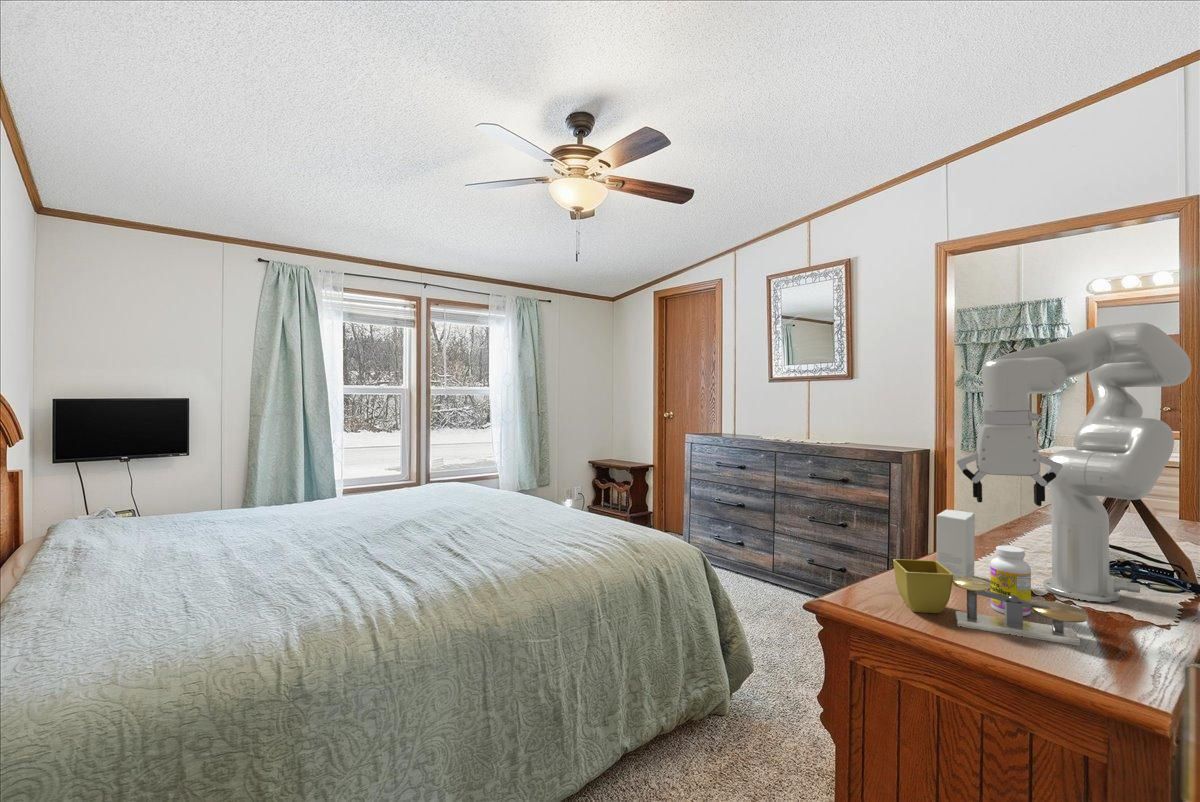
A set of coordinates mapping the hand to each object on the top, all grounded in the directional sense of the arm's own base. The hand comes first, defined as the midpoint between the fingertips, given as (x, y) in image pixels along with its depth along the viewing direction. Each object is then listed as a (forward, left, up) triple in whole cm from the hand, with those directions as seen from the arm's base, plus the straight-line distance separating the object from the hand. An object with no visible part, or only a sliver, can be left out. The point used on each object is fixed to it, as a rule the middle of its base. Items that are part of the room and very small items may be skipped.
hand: (1007, 502), depth 111 cm
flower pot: (+15, +7, -22) cm, 28 cm away
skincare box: (+8, -19, -22) cm, 30 cm away
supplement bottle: (0, 0, -22) cm, 22 cm away
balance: (+1, +11, -22) cm, 25 cm away
